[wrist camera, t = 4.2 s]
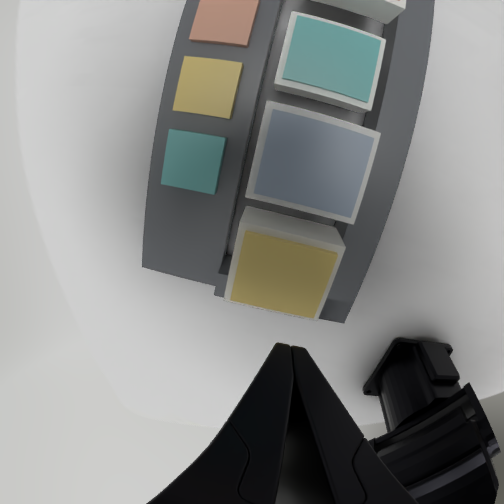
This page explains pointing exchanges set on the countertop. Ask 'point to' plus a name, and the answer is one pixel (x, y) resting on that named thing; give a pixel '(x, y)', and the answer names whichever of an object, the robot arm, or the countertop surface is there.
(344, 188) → the key slate
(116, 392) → the countertop surface
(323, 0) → the block
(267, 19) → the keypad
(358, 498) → the robot arm
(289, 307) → the key mustard
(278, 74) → the key teal
